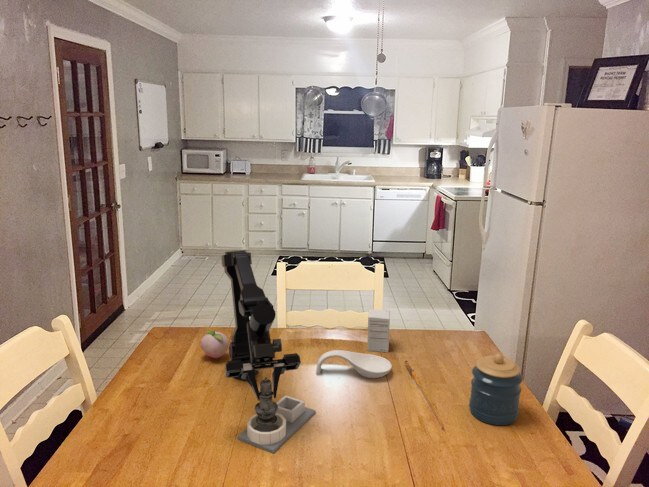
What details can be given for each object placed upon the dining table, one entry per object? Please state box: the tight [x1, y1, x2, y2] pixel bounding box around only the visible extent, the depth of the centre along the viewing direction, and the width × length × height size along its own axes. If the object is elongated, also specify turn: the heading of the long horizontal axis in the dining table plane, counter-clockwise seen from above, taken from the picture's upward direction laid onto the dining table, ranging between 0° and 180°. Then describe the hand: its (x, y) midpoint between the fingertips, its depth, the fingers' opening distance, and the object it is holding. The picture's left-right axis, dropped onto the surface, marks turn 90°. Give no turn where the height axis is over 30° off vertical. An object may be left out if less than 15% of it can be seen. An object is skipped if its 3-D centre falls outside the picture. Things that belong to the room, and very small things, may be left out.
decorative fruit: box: [200, 330, 230, 359], centre depth 173 cm, size 9×8×10 cm
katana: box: [404, 360, 444, 429], centre depth 153 cm, size 1×35×3 cm, turn 7°
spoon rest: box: [315, 349, 393, 379], centre depth 165 cm, size 24×12×7 cm, turn 89°
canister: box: [468, 353, 524, 426], centre depth 143 cm, size 13×13×18 cm
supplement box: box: [366, 309, 391, 353], centre depth 182 cm, size 7×7×13 cm
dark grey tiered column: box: [254, 376, 278, 426], centre depth 131 cm, size 6×6×12 cm
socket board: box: [237, 395, 317, 454], centre depth 138 cm, size 20×11×4 cm, turn 150°
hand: (267, 399), depth 130 cm, fingers closed on dark grey tiered column, 4 cm apart
